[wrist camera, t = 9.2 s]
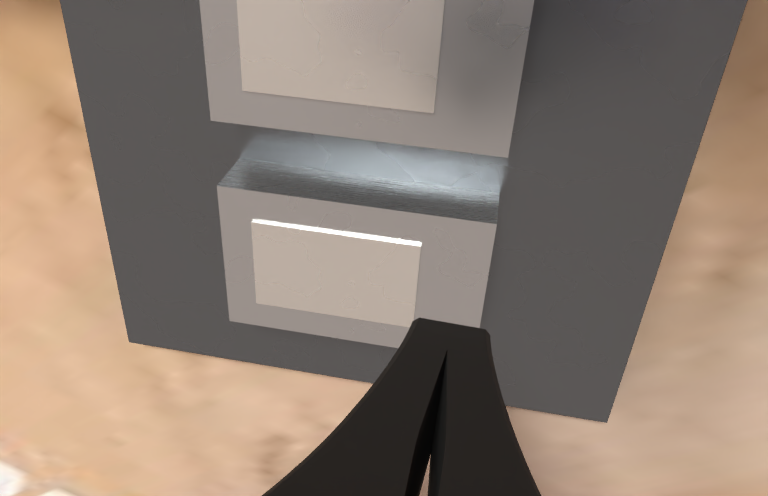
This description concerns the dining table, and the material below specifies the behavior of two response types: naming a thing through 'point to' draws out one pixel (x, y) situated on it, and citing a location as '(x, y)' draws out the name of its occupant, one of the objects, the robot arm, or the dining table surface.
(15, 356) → the dining table surface
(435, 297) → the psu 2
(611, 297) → the dark grey panel board
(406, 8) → the block
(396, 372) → the robot arm
